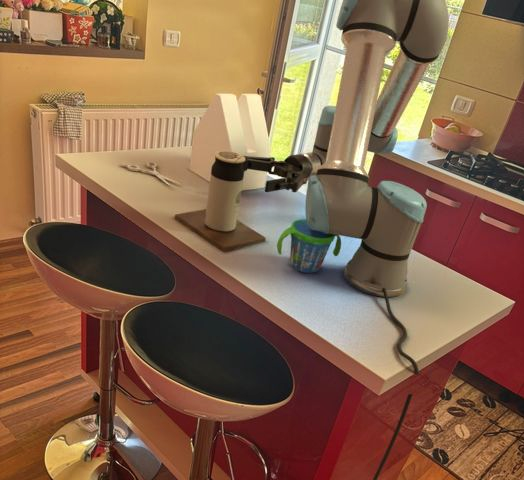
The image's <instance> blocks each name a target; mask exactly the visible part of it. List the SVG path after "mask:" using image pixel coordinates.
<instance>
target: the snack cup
mask: <svg viewBox="0 0 524 480" xmlns="http://www.w3.org/2000/svg"><path fill="white" fill-rule="evenodd" d="M289 236H290V238H291V240H290V253H289V264H290V266H291V267H293V269H295V270H297V271H299V272H301V273H305V274H310V273H317V272H318V271H319V270H320V269H321V267H322V265H323V263H324V261H325V259H326V255H327V254H328V251H329V249H330V246H331V245H332V243H333V242H334V241H335V238H336V242H335V246H334V248H333V251H332V254H333V256H334V257H338V256H339V254H340V252H341V248H342V239H341V235H335V234H329V233H328V234H325V233H324V232H320V231H316V230H312V229H310V228H309V227H308V225H307V222H306V218H301V219H296V220H293V222H292V223H291V225H290V226H289V227H287V228H286V229H285V230H284V231H282V233H281V234H280V236H279V237H278V240H277V243H276V249H277V253H278V255H282V248H283V241H284V239H286V238H287V237H289Z"/></svg>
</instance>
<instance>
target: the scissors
mask: <svg viewBox="0 0 524 480" xmlns="http://www.w3.org/2000/svg"><path fill="white" fill-rule="evenodd" d="M120 166H121V167H123V168H127V169H128V170H129V171H133V172H141V173H145V174H149V175H152V176H155V177H157V178H158V179H160V180H161V181H162V182H163V183H165V184H166V185H168V186H169V187H171V184H170V183H169V182H168V181H170V182H173V183H176V184H179V185H180V182H177V181H175V180H173V179H171V178H169V177H167V176H164V175H162V174H161V173H160V172H158V171H157V163H155V162H152V161H151V162H150V161H149V162H148V161H147V162H146V167H147V168H148V169H152V170H148V169H144V168H140V166H139V165H135V164H125V163H121V164H120ZM166 180H167V181H166Z"/></svg>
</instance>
